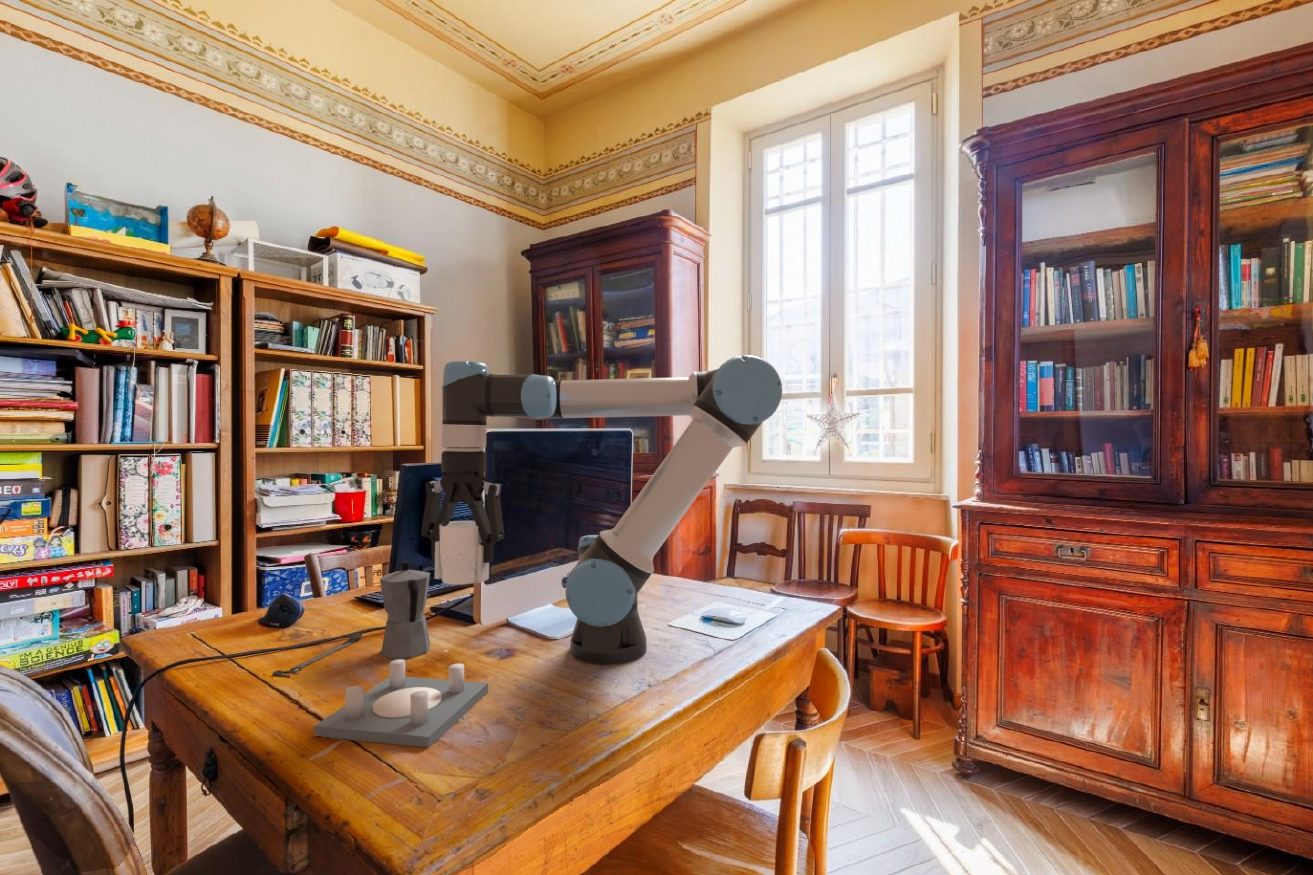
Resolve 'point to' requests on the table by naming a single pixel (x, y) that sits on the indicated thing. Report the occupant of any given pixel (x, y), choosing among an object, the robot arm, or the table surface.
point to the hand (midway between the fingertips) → (461, 578)
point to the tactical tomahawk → (318, 657)
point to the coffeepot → (405, 613)
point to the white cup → (459, 552)
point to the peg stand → (403, 708)
